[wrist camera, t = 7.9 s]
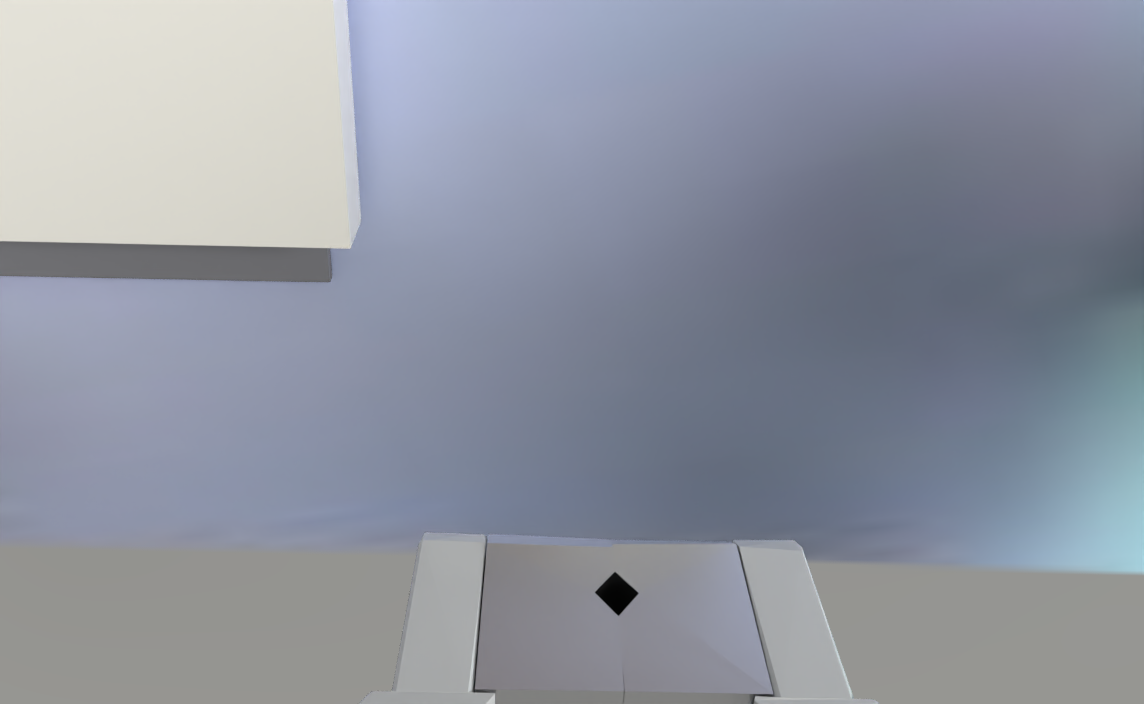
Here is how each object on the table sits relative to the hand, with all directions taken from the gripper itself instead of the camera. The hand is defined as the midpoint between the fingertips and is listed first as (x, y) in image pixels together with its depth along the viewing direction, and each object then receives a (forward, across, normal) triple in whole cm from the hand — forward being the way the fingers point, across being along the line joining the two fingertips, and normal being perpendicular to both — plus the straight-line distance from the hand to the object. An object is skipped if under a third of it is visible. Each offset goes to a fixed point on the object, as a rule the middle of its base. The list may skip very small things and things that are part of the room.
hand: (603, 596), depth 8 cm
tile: (+20, +6, 0) cm, 20 cm away
